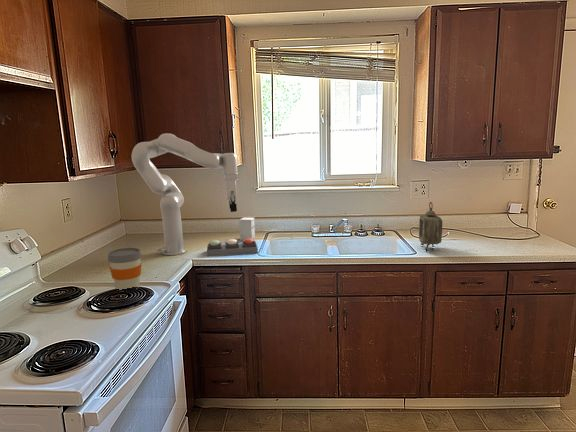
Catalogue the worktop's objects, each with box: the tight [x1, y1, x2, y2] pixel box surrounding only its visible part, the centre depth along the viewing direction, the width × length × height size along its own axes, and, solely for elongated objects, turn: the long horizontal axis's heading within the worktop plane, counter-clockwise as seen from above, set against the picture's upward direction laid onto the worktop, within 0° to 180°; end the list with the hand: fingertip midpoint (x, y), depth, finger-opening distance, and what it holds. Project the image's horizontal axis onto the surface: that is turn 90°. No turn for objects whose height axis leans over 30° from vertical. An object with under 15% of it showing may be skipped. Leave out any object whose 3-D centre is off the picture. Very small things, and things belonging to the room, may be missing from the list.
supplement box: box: [238, 217, 256, 241], centre depth 239 cm, size 7×7×13 cm
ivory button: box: [226, 238, 238, 245], centre depth 214 cm, size 5×5×2 cm
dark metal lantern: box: [418, 201, 443, 251], centre depth 211 cm, size 14×9×25 cm, turn 171°
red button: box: [244, 238, 255, 244], centre depth 215 cm, size 5×5×2 cm
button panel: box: [206, 240, 259, 257], centre depth 214 cm, size 26×10×4 cm, turn 99°
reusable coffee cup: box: [107, 247, 142, 290], centre depth 165 cm, size 12×13×15 cm
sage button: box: [209, 239, 220, 246], centre depth 212 cm, size 5×5×2 cm
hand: (233, 210), depth 212 cm, fingers open, 9 cm apart
